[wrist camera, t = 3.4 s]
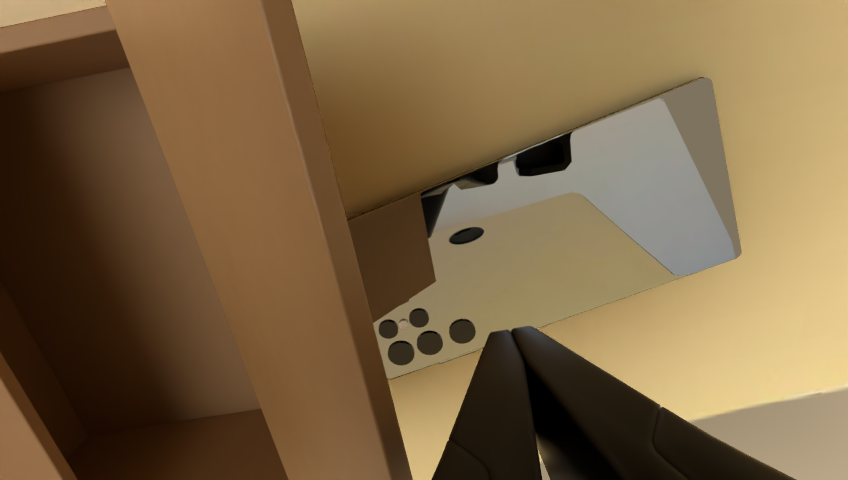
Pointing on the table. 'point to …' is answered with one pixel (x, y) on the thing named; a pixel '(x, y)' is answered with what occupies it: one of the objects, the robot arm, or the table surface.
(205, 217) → the flap
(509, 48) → the table surface
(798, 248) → the table surface
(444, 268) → the smartphone
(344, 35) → the table surface
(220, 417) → the carton
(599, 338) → the table surface
